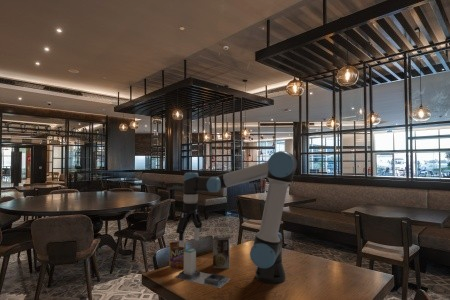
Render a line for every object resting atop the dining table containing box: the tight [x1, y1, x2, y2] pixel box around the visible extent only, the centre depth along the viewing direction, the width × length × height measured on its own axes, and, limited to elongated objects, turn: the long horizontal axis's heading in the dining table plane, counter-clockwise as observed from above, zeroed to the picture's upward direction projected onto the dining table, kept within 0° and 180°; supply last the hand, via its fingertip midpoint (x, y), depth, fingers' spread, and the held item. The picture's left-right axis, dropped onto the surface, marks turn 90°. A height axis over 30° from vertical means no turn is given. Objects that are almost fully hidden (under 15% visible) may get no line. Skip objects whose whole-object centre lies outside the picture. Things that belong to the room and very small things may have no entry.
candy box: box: [168, 239, 187, 271], centre depth 155 cm, size 9×4×15 cm, turn 98°
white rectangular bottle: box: [183, 247, 197, 275], centre depth 146 cm, size 5×4×13 cm
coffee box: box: [212, 236, 231, 270], centre depth 159 cm, size 9×6×16 cm
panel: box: [174, 269, 231, 290], centre depth 142 cm, size 26×12×2 cm, turn 63°
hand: (189, 243), depth 146 cm, fingers open, 13 cm apart
